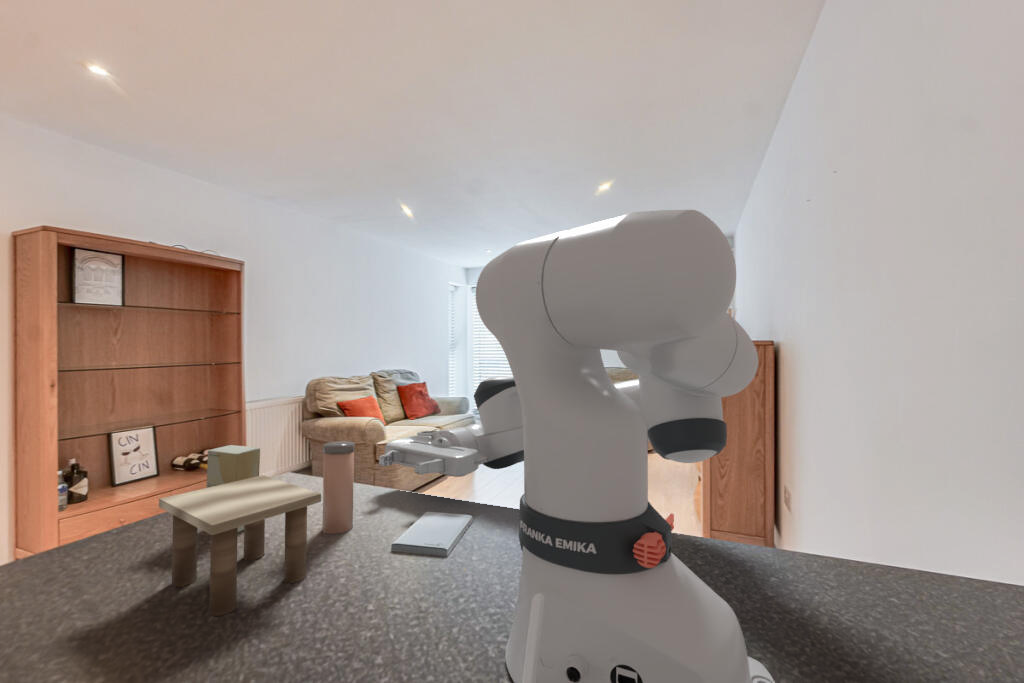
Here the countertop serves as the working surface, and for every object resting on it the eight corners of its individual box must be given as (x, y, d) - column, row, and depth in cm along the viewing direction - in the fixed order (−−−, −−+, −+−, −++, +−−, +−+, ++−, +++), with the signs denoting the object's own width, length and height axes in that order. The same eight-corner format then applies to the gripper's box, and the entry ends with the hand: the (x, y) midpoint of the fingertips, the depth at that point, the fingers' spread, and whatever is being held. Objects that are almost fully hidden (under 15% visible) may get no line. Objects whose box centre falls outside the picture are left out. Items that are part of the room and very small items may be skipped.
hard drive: (447, 548, 60) (472, 514, 72) (391, 543, 62) (425, 510, 74) (447, 560, 60) (472, 524, 72) (390, 555, 62) (424, 520, 74)
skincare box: (203, 529, 68) (204, 449, 69) (228, 519, 73) (230, 444, 73) (235, 535, 66) (237, 452, 67) (260, 524, 71) (261, 446, 71)
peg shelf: (320, 575, 55) (321, 493, 55) (210, 625, 45) (212, 525, 45) (261, 546, 62) (262, 475, 63) (157, 583, 53) (159, 498, 53)
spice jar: (359, 526, 70) (360, 443, 70) (333, 536, 66) (334, 448, 66) (341, 520, 72) (342, 439, 72) (315, 529, 68) (316, 444, 69)
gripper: (492, 474, 85) (441, 493, 73) (416, 459, 96) (362, 473, 85) (492, 441, 85) (441, 455, 74) (416, 430, 96) (363, 440, 85)
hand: (398, 465), depth 79 cm, fingers open, 8 cm apart
